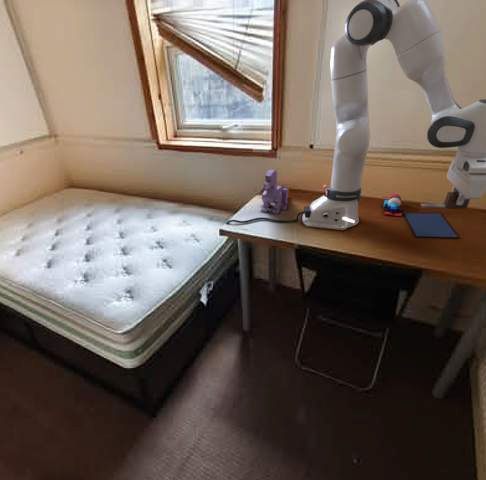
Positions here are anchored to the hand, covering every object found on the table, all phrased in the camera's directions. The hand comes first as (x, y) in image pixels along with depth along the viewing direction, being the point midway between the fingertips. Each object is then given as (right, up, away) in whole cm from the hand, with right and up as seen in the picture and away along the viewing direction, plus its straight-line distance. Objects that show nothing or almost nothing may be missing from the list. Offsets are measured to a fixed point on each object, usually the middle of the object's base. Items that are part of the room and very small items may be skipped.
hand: (456, 201), depth 108 cm
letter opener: (-3, -1, +2) cm, 4 cm away
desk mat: (+3, -5, +18) cm, 19 cm away
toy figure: (-3, +4, +33) cm, 33 cm away
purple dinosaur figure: (-50, +8, +46) cm, 69 cm away
